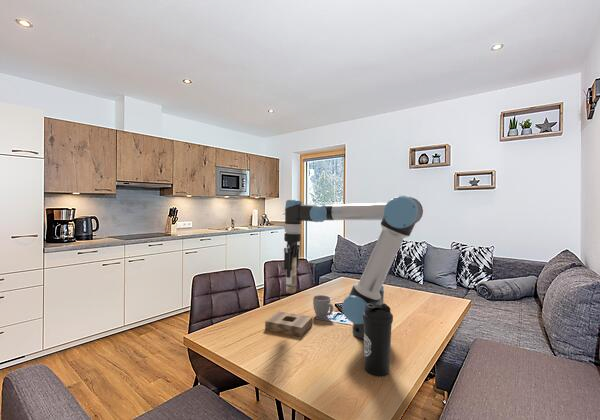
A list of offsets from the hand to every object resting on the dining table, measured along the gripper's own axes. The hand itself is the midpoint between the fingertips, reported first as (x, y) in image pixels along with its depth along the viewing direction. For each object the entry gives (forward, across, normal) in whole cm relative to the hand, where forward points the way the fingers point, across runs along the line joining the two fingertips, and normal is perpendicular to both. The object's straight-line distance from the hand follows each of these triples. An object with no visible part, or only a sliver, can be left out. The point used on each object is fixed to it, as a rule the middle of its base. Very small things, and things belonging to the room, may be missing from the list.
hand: (291, 282), depth 140 cm
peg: (+4, 0, 0) cm, 4 cm away
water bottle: (+21, +21, +42) cm, 52 cm away
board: (+21, 0, 0) cm, 21 cm away
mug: (+21, -19, +11) cm, 31 cm away
